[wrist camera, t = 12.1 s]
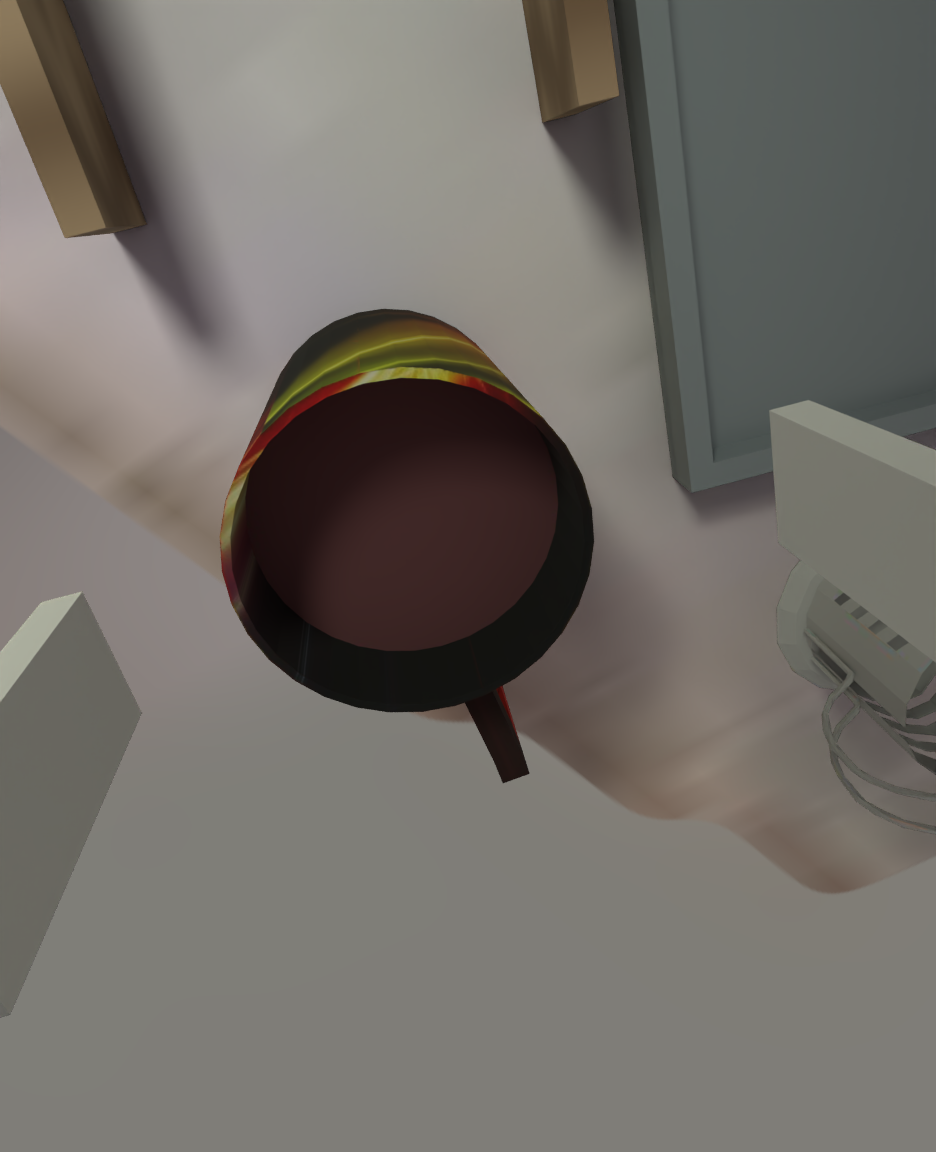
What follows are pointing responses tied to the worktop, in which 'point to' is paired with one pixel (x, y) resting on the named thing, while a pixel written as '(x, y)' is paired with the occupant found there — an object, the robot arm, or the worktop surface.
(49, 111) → the wooden frame
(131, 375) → the worktop surface
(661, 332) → the tray
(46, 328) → the worktop surface
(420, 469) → the mug
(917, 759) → the french press
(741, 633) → the worktop surface
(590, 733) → the worktop surface
